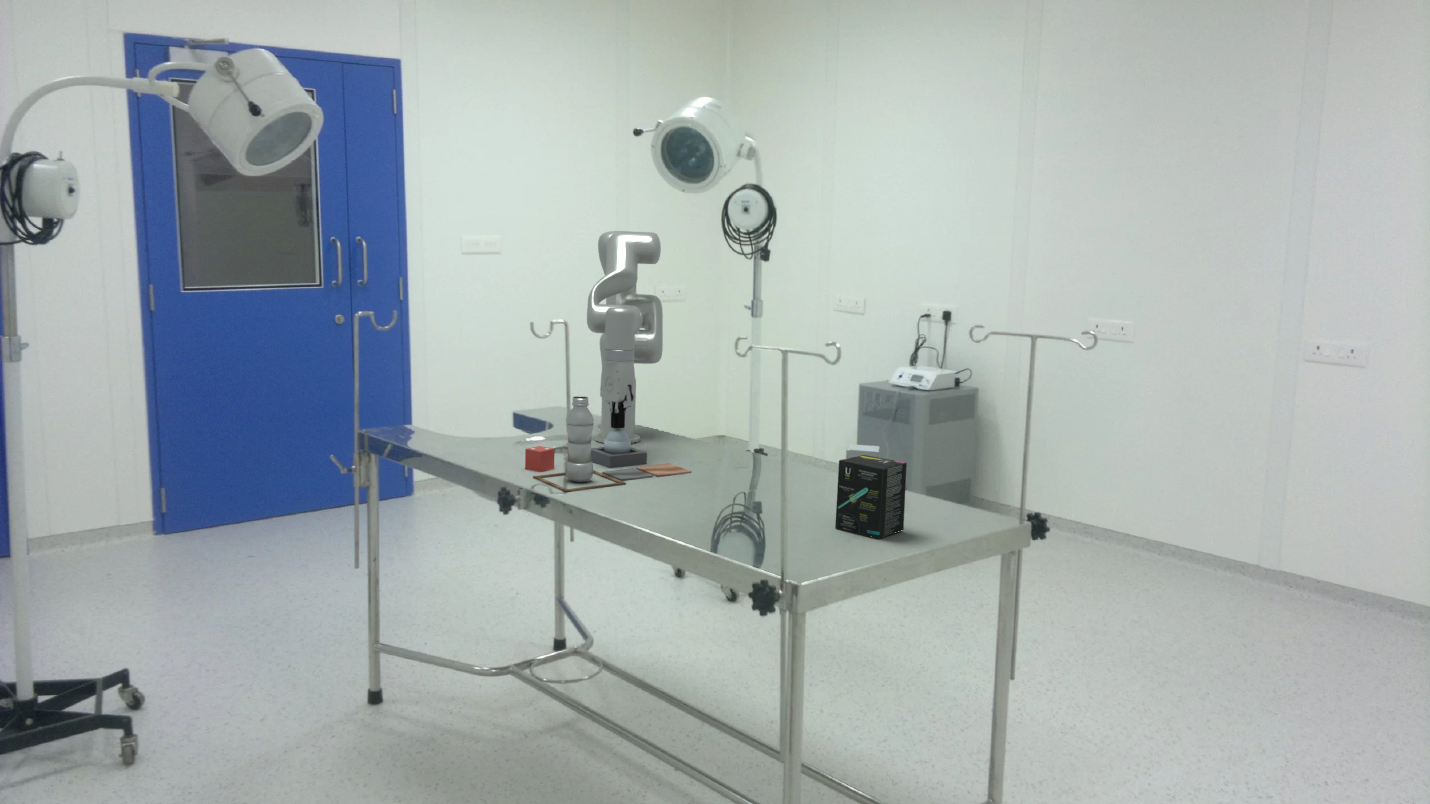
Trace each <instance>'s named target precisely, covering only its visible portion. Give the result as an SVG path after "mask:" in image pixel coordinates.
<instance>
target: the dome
mask: <svg viewBox="0 0 1430 804" xmlns="http://www.w3.org/2000/svg"><path fill="white" fill-rule="evenodd" d="M631 444H632V443H631V440H630V439H628V436H627V434H626V432H625V431H623V430H621V429H614V430H612V431H610V432H609V433H608V435H607V438H605V439H604V443H603V447H604V452H606V453H609V454H612V455H614V454H623V453H630V448H631V447H632V446H631Z"/></svg>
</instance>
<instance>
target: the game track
mask: <svg viewBox="0 0 1430 804" xmlns="http://www.w3.org/2000/svg"><path fill="white" fill-rule="evenodd" d="M691 473H692V470H689V469H686V468H684V467H681V466H678V465H676V464H672V463H669V462H668V463H661V464H654V465H653V464H651V465H643V466H636V467H635V468H634V467H631V468H623V469H622V468H621V469H615V470H607V471H602V472H599V471H597V470H594V469H593V474H594V475H596V476H599V477H601V478H604V479H607V480H609V481H611V482H613V483H606V484H604V483H603V484H598V485H597V484H596V485H590V486H582V487H581V486H580V487H573V488H565V487H563V486H561V485H559V484H556V483H554V482H552V481H551V480H550V481H549V480H548V479H545V478H553V477H562V476H566V472H565V471H564V472H559V473H549V474H541V475H533V476H532V479H535V480H536V481H539V482H540V483H543V484H546V485H548V486H550V487H553V488H555V489H557V490H559V491H562V492H564V493H570V492H579V491H586V490H594V489H601V488H609V487H614V486H615V487H616V486H617V487H618V486H625V485H627V482H625V481H633V480H638V479H639V480H640V479H648V478H654V477H657V478H659V477H667V476H668V477H670V476H675V475H676V476H677V475H684V474H691Z"/></svg>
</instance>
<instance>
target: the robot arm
mask: <svg viewBox="0 0 1430 804" xmlns="http://www.w3.org/2000/svg"><path fill="white" fill-rule="evenodd" d="M597 247H598V248H597V250H598V257H599V258H598V259H599V262H600V265H601V269H602V270H603V274H604V276H602V277H601V278H600V279H599V280H598V281H597V282H596V283H595V284H594V285H593V286H592V288H591V290H590V291H589V295H588V298H587V309H586V324H587V327H588V329H589V331H591V332H592V333H595V334H601V335H600V338H599V351H600V359H601V376H600V387H599V389H600V390H599V394H600V398H601V412H600V413H601V415H600V417H601V418H600V419H601V421H600V423H598V424H597V429H599V430H600V433H598V434H595V441H597V442H598V443H603V444H604V439H605V438H607V435H608V433H609V432H610V431H612V430H614V429H621V430H623V431H625V432H626V434H627V436H628V439H630V440H631V444H635V443H634V442H636V443H638V441H639V440H640V441H641V436H640V435H638V434H636V430H635V429H636V427H635V426H636V403H637V402H636V401H637V400H636V399H637V396H636V395H637V394H636V393H637V379H636V374H635V373H636V372H635V364H644V365H649V364H650V365H651V364H653V365H654V364H656V363H659V362H660V360H661V359H662V357H663V348H664V347H663V345H664V343H663V339H664V338H663V335H664V331H663V329H664V328H663V327H664V325H663V324H664V323H663V318H664V316H663V305H662V301H661V299H660V297H658V296H656V295H653V294H641V293H639V294H638V293H637V282H638V269H639V268H638V267H639V266H638V265H639V264H641V265H656V264H658V262H659V260H660V258H661V252H662V251H661V250H662V248H661V247H662V246H661V241H660V237H659V236H658V234H657V233H655V232H653V231H652V232H649V231H648V232H646V231H628V230H627V231H625V230H612V231H606V232H604V233H601V235H599V238H598V242H597ZM604 300H605V304H604V303H601V302H603V301H604ZM640 441H639V442H640Z"/></svg>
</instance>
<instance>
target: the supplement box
mask: <svg viewBox="0 0 1430 804" xmlns="http://www.w3.org/2000/svg"><path fill="white" fill-rule="evenodd" d="M880 447H881V446H879V445H868V444H867V445H866V444H851V443H849V444H847V448H846V452H845V459H848V458H851V457H857V456H862V455H867V456H873V457H878V458H880V453H881V451H880V450H881V448H880Z"/></svg>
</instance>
